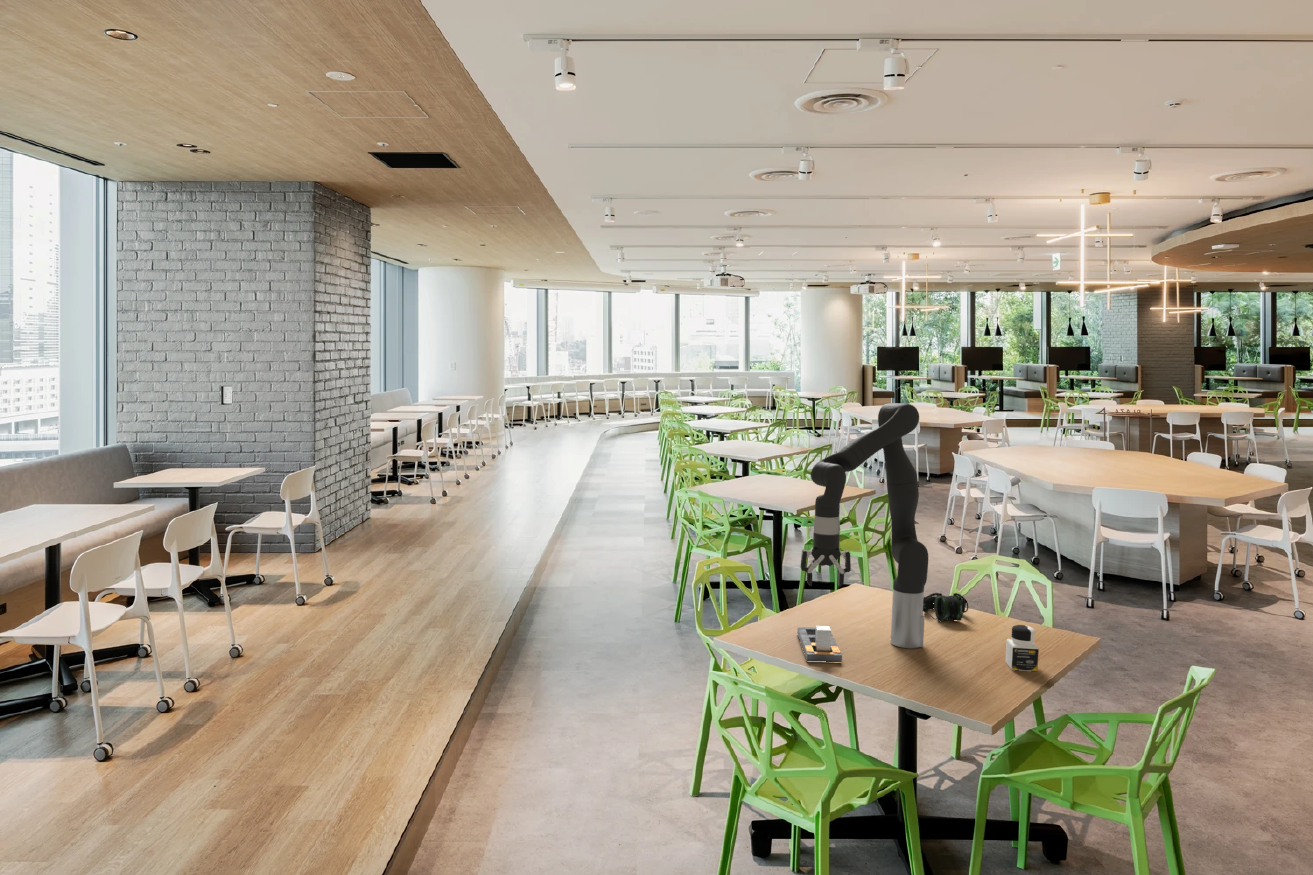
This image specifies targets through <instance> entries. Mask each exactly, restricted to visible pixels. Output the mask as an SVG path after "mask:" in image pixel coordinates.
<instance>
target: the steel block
mask: <svg viewBox="0 0 1313 875" xmlns="http://www.w3.org/2000/svg"><path fill="white" fill-rule="evenodd" d="M815 628H816V632H815V652H830V649H831V633H832V629H831V627H830V626H829V625H815Z"/></svg>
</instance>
